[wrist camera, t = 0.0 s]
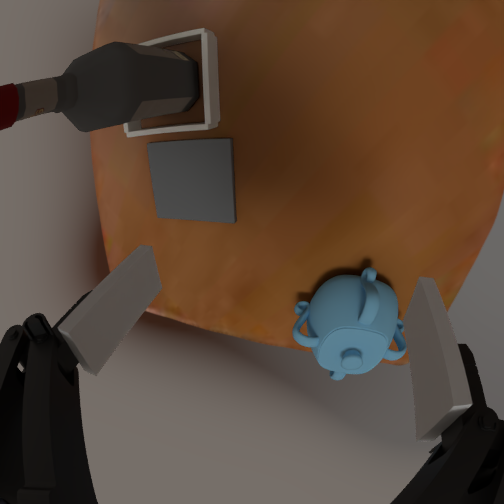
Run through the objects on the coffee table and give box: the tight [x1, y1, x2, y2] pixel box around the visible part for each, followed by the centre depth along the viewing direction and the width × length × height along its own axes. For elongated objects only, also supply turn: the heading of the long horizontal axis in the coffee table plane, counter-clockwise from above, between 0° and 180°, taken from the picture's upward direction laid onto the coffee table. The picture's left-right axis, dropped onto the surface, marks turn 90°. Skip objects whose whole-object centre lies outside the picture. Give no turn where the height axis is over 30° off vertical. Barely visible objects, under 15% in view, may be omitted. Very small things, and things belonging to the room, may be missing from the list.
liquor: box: [0, 42, 199, 132], centre depth 22 cm, size 9×9×30 cm
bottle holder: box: [124, 28, 220, 137], centre depth 33 cm, size 15×15×4 cm
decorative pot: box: [293, 267, 407, 380], centre depth 41 cm, size 16×16×14 cm
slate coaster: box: [147, 138, 237, 223], centre depth 42 cm, size 13×14×1 cm
